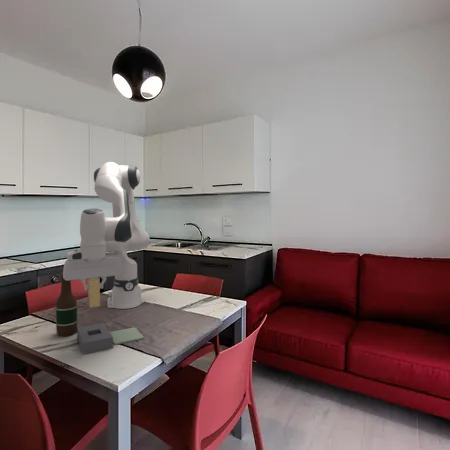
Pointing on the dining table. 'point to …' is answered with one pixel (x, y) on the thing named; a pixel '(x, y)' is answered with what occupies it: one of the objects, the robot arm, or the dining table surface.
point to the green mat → (126, 335)
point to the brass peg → (94, 292)
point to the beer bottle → (66, 311)
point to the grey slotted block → (94, 338)
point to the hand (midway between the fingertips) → (93, 289)
